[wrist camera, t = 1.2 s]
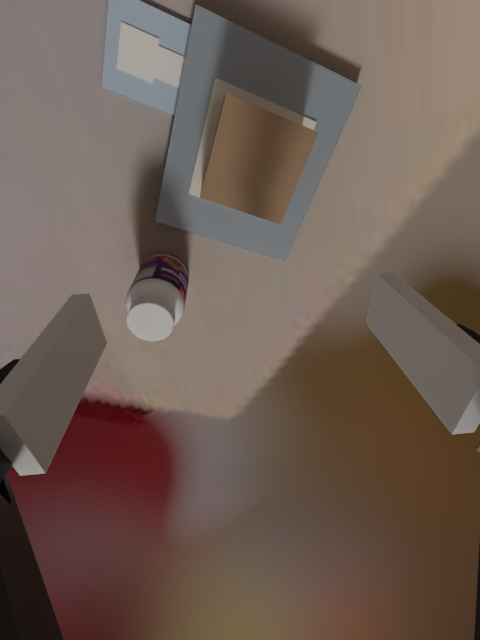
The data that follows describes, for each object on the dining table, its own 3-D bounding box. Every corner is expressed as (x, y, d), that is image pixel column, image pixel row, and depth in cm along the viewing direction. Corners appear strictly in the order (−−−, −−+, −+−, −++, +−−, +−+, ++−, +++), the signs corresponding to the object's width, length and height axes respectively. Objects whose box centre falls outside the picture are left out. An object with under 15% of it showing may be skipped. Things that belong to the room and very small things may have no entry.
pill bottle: (198, 281, 35) (194, 330, 27) (161, 304, 36) (146, 357, 28) (168, 243, 32) (154, 284, 24) (129, 268, 33) (103, 316, 25)
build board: (156, 218, 30) (154, 221, 29) (196, 9, 22) (195, 2, 21) (282, 256, 34) (285, 261, 33) (356, 87, 26) (362, 85, 25)
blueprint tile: (102, 87, 24) (101, 87, 24) (110, -13, 22) (109, -15, 21) (198, 125, 26) (198, 125, 26) (218, 38, 23) (218, 37, 23)
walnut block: (201, 186, 28) (199, 197, 24) (223, 97, 24) (226, 92, 20) (270, 210, 30) (280, 224, 25) (301, 130, 26) (318, 132, 22)
